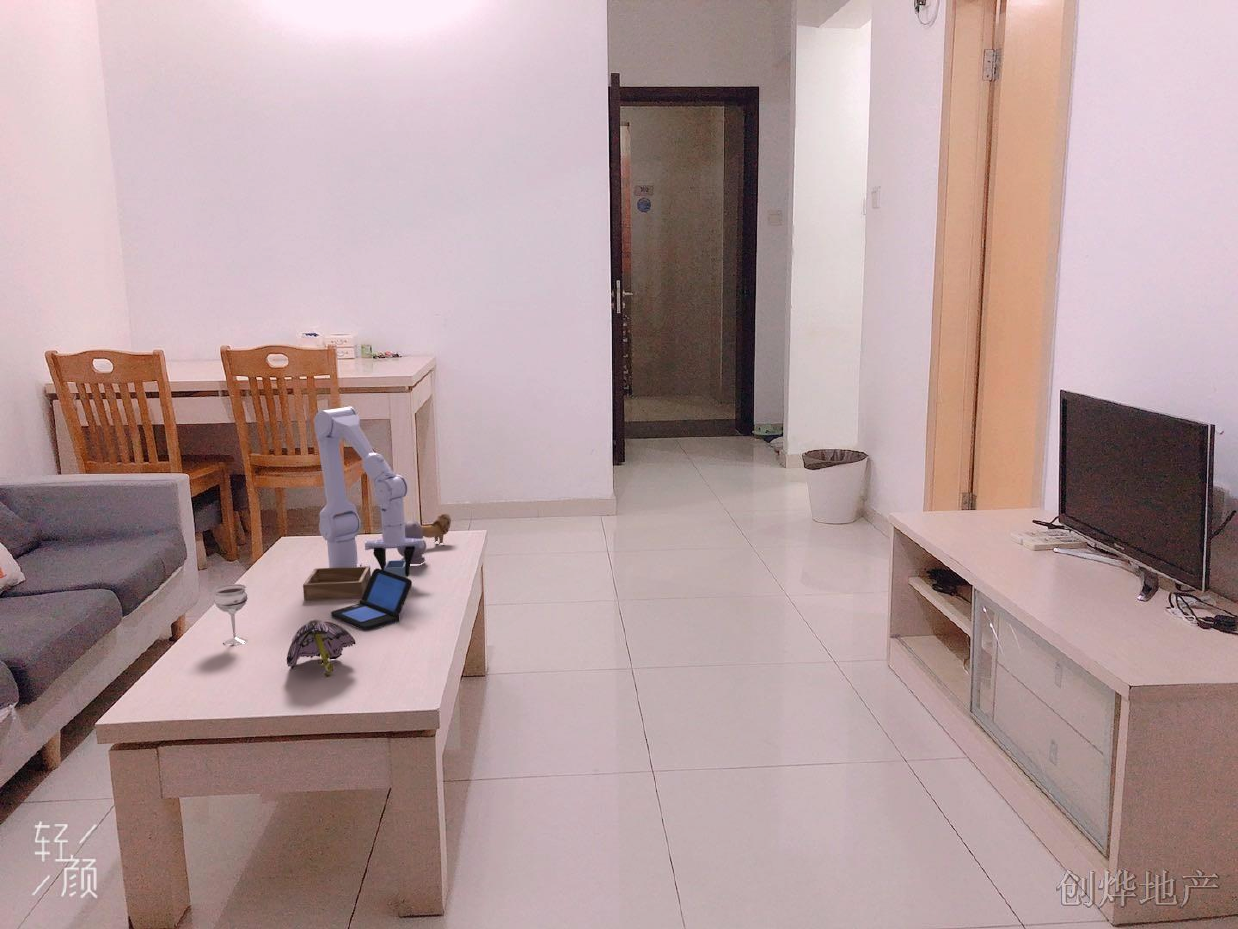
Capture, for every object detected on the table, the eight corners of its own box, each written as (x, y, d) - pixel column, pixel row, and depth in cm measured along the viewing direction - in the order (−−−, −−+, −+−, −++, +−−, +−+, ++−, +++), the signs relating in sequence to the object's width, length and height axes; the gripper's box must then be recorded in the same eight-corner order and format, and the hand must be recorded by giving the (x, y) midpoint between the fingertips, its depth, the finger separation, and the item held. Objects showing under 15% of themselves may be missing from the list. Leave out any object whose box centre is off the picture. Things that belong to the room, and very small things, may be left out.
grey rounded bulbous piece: (396, 560, 283) (394, 518, 280) (425, 557, 285) (422, 516, 283) (399, 569, 275) (397, 525, 272) (429, 566, 277) (426, 523, 275)
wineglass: (218, 639, 224) (213, 586, 222) (251, 634, 227) (246, 582, 224) (218, 649, 218) (213, 595, 216) (252, 644, 220) (247, 591, 218)
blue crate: (388, 577, 265) (387, 560, 264) (408, 576, 265) (407, 559, 265) (384, 585, 258) (383, 568, 257) (404, 584, 259) (403, 567, 258)
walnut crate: (316, 583, 263) (314, 568, 262) (371, 581, 264) (370, 566, 264) (304, 600, 249) (302, 584, 249) (362, 597, 251) (361, 582, 250)
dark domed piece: (352, 607, 213) (338, 609, 198) (370, 660, 212) (356, 667, 197) (284, 630, 212) (265, 635, 197) (302, 684, 211) (283, 692, 196)
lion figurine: (446, 540, 303) (445, 510, 302) (456, 543, 299) (454, 513, 298) (402, 549, 294) (400, 519, 292) (411, 553, 290) (409, 522, 288)
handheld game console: (328, 618, 237) (325, 579, 236) (377, 603, 247) (375, 566, 245) (366, 633, 227) (363, 593, 225) (416, 617, 236) (413, 579, 234)
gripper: (361, 529, 255) (365, 581, 257) (420, 526, 256) (423, 578, 258) (366, 522, 261) (369, 573, 264) (423, 520, 263) (426, 570, 265)
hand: (396, 575), depth 262 cm, fingers closed on blue crate, 5 cm apart
